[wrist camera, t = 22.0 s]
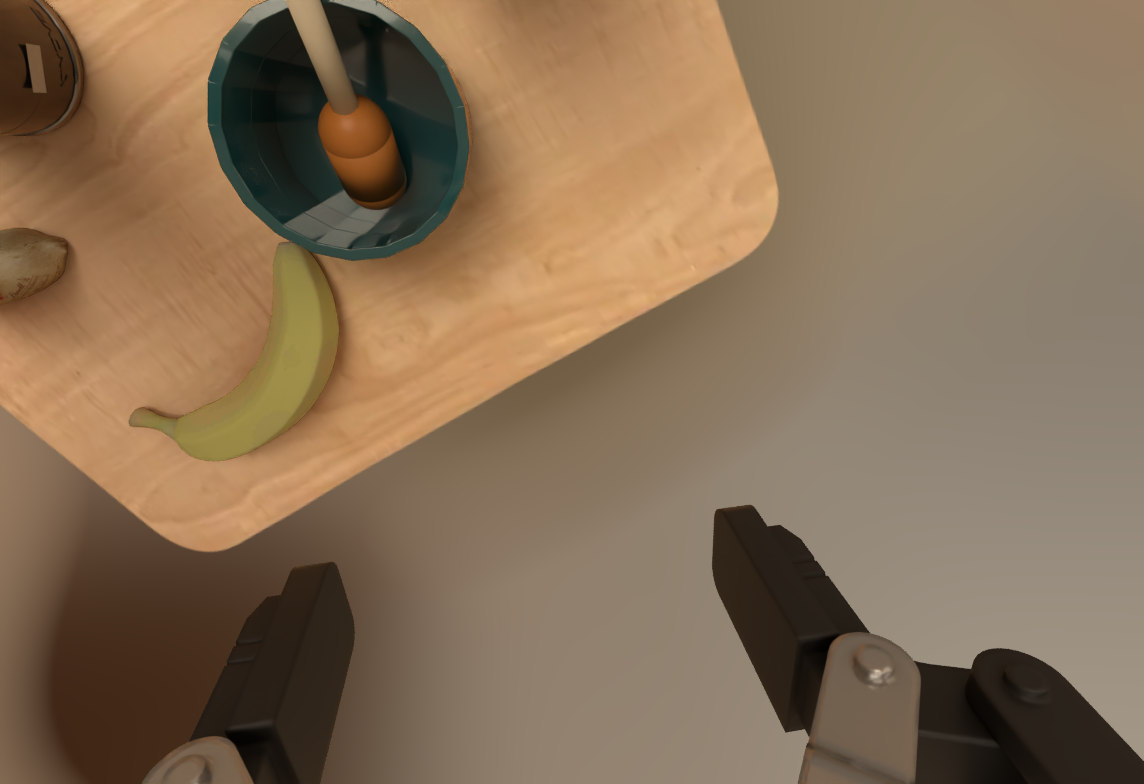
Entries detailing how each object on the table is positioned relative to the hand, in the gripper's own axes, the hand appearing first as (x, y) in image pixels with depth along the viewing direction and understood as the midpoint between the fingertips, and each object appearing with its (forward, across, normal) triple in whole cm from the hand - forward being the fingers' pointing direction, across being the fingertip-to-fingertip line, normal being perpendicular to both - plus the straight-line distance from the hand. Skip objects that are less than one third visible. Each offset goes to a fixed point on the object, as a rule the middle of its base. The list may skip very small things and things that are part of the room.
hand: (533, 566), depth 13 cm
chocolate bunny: (+38, +35, -1) cm, 52 cm away
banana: (+38, +22, +8) cm, 45 cm away
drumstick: (+29, +8, -9) cm, 31 cm away
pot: (+38, +8, -8) cm, 40 cm away
